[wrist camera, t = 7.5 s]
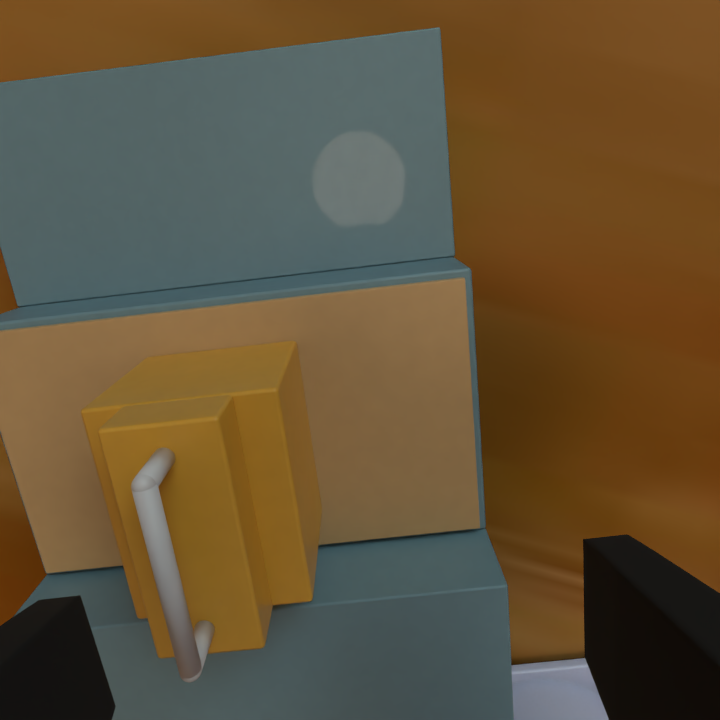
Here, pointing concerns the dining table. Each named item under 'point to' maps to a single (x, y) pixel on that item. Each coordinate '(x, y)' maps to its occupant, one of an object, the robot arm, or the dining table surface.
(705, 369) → the dining table surface
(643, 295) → the dining table surface
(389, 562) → the step rack
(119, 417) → the block with handle
